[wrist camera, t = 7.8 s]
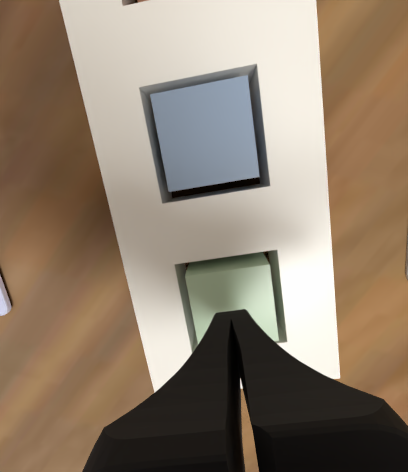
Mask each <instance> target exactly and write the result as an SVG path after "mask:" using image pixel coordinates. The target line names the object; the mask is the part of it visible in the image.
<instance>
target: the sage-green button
mask: <svg viewBox="0 0 408 472" xmlns="http://www.w3.org/2000/svg"><path fill="white" fill-rule="evenodd" d="M185 279H186V284H187V289H188V295H189V300H190V305H191V310H192V315H193V321H194V326H195V331H196V336H197V341H198V344H199V342H200V341H201V339H202V338H203V336H204V334H205V332H206V331H207V329H208V327H209V325H210V323H211V321H212V318H213V316H214V315H215V313H218V312H226V311H234V310H241V309H246V310H247V311H248V312H249V314H250V315H251V317H252V318H253V319H254V321H255V322H256V323H257V324H258V325H259V326H260V328H261V329H262V330H263V331H264V332H265V333H266V334H267V335H268V336H269V337H270V338H271V339H272V340H273V341H279V337H278V329H277V320H276V312H275V303H274V295H273V286H272V278H271V269H270V264H269V262H268V260H267V259H266V257H265V255H264V253H263V252H257V253H250V254H243V255H236V256H230V257H223V258H216V259H209V260H202V261H195V262H189V265H188V268H187V271H186V275H185Z"/></svg>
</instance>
